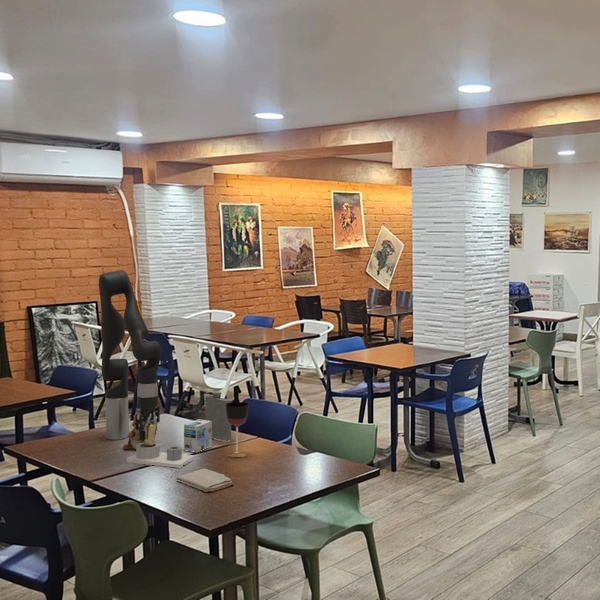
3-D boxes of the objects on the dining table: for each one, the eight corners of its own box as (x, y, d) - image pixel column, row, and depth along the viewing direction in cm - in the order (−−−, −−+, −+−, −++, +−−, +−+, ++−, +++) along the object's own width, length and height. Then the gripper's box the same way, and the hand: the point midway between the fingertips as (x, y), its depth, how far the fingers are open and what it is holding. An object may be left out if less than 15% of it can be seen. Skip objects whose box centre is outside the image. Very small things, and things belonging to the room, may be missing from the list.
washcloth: (208, 495, 223) (208, 486, 223) (174, 482, 235) (174, 474, 235) (235, 486, 232) (235, 477, 232) (201, 474, 244) (201, 466, 244)
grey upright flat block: (232, 441, 286) (232, 394, 284) (224, 443, 283) (224, 395, 282) (210, 434, 297) (210, 388, 296) (202, 436, 294) (202, 389, 293)
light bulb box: (197, 453, 268) (197, 426, 268) (183, 451, 271) (183, 424, 271) (212, 446, 278) (212, 420, 277) (198, 444, 281) (198, 418, 280)
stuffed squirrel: (120, 450, 272) (120, 417, 271) (140, 441, 285) (139, 409, 285) (142, 452, 269) (142, 419, 268) (161, 443, 282) (161, 411, 281)
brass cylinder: (145, 452, 262) (148, 421, 261) (155, 454, 261) (158, 423, 260) (140, 455, 259) (143, 424, 257) (149, 457, 257) (152, 426, 256)
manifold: (126, 462, 256) (126, 448, 256) (143, 453, 267) (143, 439, 267) (180, 468, 249) (180, 453, 249) (194, 459, 261) (194, 445, 260)
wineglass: (250, 457, 264) (251, 405, 263) (228, 459, 261) (228, 407, 260) (244, 451, 272) (244, 401, 270) (223, 453, 268) (223, 403, 267)
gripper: (148, 390, 266) (148, 432, 267) (128, 397, 253) (128, 441, 254) (165, 391, 264) (166, 433, 265) (146, 399, 250) (147, 443, 251)
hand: (147, 437), depth 259 cm, fingers open, 7 cm apart
